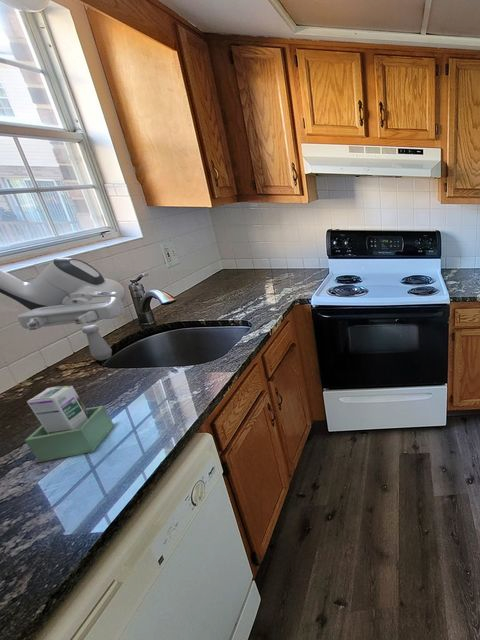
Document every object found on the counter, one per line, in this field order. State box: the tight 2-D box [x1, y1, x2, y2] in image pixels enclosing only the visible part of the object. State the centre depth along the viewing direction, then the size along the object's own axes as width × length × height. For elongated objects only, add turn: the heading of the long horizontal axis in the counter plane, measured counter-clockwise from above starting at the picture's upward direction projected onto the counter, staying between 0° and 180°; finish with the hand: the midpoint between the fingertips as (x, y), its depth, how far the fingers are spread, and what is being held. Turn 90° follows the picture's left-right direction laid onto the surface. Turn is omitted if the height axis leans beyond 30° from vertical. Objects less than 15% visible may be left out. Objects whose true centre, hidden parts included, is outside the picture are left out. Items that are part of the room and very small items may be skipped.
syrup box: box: [26, 385, 90, 434], centre depth 89 cm, size 6×6×14 cm
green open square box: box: [24, 405, 115, 463], centre depth 91 cm, size 11×11×7 cm
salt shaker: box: [81, 324, 113, 361], centre depth 133 cm, size 6×6×13 cm
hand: (55, 324), depth 91 cm, fingers open, 8 cm apart
